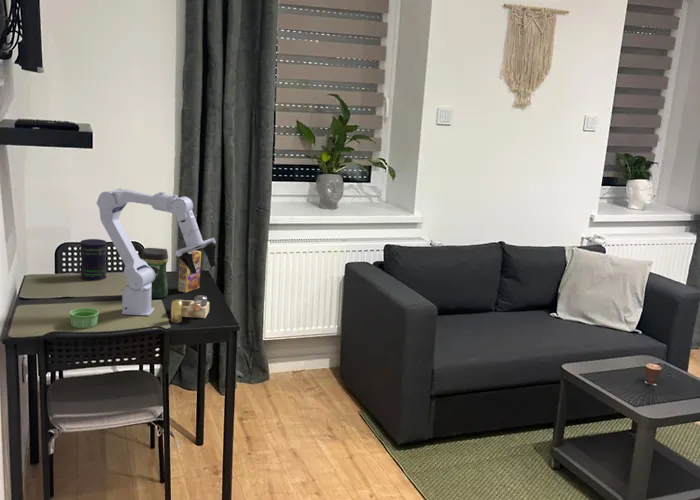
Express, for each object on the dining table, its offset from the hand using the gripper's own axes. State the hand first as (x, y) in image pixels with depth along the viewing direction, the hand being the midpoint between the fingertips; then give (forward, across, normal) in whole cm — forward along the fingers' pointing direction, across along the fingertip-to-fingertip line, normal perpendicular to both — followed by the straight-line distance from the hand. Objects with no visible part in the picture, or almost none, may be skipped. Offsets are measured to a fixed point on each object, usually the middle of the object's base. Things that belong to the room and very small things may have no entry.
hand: (203, 269), depth 231 cm
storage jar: (-6, -11, +70) cm, 71 cm away
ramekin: (+5, -37, +20) cm, 42 cm away
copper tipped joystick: (+12, -2, +9) cm, 16 cm away
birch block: (+14, -3, +15) cm, 21 cm away
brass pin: (+14, -11, +10) cm, 20 cm away
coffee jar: (+6, -3, +38) cm, 39 cm away
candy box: (+10, +12, +40) cm, 43 cm away
